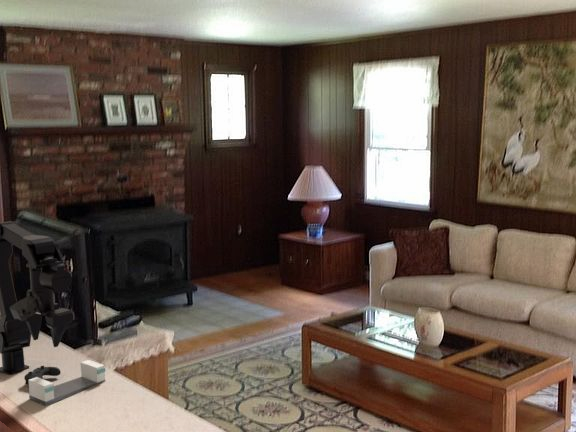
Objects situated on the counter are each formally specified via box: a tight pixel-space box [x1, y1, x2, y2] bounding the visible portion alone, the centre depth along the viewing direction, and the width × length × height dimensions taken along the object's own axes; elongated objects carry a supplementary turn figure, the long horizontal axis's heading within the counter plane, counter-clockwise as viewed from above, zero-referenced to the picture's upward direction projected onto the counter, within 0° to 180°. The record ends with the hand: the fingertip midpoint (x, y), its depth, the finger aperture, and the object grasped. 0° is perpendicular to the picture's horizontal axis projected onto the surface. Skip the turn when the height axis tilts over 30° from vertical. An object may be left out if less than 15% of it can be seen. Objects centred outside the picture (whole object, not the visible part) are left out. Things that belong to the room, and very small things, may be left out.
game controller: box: [24, 365, 62, 386], centre depth 186 cm, size 10×5×6 cm
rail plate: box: [28, 376, 106, 406], centre depth 181 cm, size 7×18×1 cm, turn 142°
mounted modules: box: [28, 359, 106, 402], centre depth 180 cm, size 7×18×4 cm, turn 142°
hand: (45, 343), depth 185 cm, fingers open, 9 cm apart
